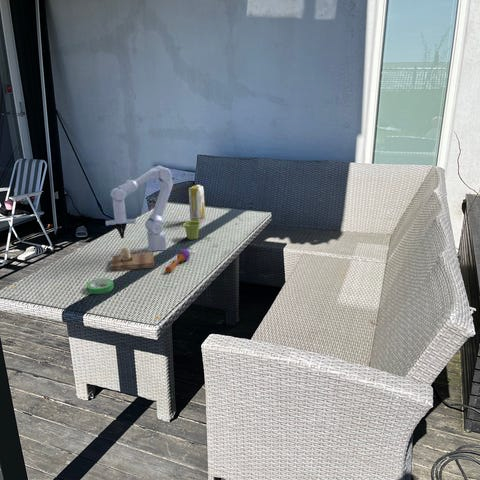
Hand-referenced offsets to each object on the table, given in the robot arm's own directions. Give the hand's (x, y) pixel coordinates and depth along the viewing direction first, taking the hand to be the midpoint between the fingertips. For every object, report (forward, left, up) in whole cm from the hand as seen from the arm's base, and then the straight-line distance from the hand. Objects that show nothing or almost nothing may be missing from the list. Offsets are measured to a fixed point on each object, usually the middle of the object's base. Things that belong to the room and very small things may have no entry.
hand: (122, 237), depth 234 cm
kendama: (-27, +21, -10) cm, 35 cm away
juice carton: (-43, -50, -10) cm, 67 cm away
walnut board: (-5, +14, -9) cm, 18 cm away
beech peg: (-2, +14, -9) cm, 17 cm away
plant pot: (-37, -19, -10) cm, 43 cm away
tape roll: (+8, +40, -10) cm, 42 cm away
